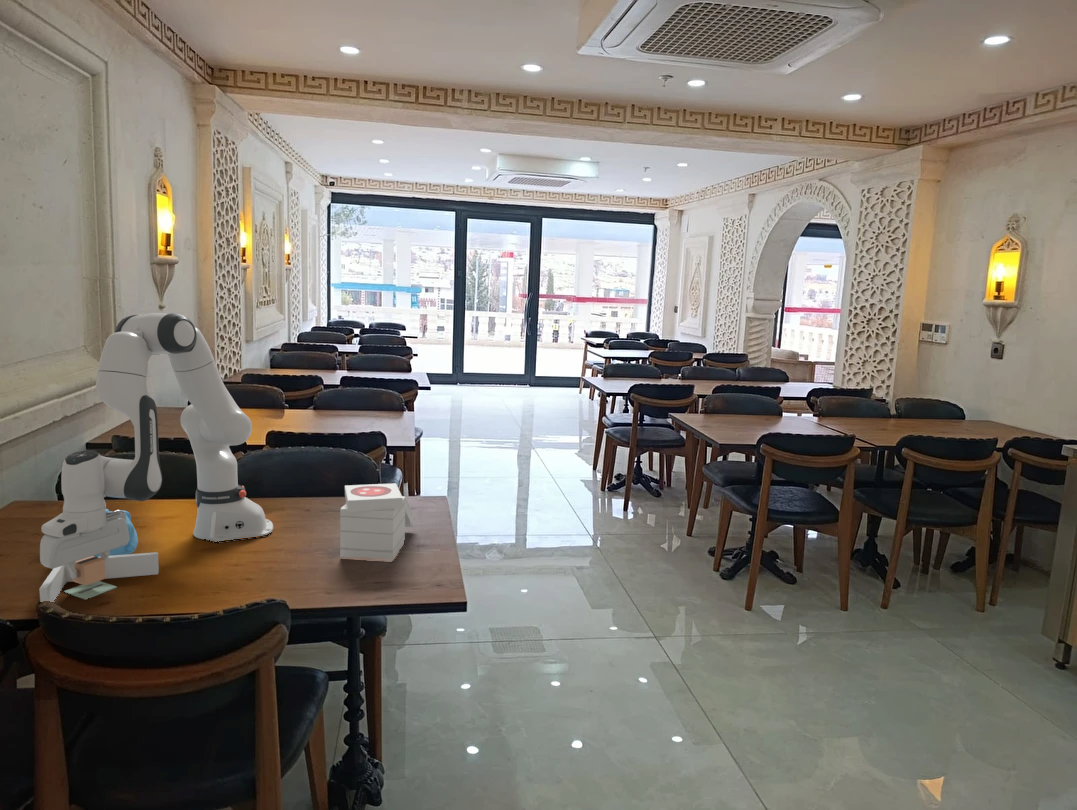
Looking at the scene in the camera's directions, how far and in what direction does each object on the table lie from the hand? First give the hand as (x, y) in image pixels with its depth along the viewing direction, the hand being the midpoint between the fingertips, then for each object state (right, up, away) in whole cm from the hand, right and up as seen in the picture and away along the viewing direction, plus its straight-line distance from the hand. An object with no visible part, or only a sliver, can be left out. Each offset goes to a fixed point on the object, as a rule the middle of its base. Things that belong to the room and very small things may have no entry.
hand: (88, 573), depth 181 cm
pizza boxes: (+62, -1, +39) cm, 73 cm away
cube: (0, -2, 0) cm, 2 cm away
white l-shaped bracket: (+3, -4, +1) cm, 6 cm away
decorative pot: (-8, -1, +21) cm, 22 cm away
